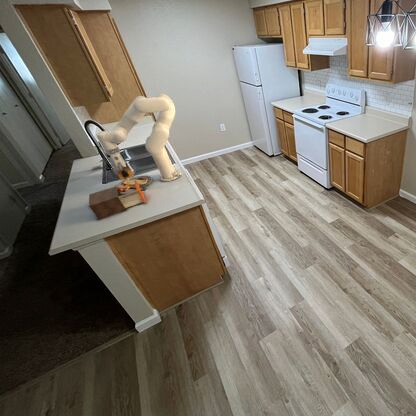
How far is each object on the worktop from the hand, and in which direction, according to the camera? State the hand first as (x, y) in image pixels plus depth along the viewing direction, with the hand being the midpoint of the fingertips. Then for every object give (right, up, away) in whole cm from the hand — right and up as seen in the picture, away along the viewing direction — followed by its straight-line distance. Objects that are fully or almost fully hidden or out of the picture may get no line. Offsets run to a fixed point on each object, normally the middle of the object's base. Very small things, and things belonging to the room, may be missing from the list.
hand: (126, 175), depth 182 cm
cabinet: (+3, -23, -16) cm, 29 cm away
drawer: (+14, -18, -11) cm, 25 cm away
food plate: (+1, -8, +6) cm, 10 cm away
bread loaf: (0, -1, +1) cm, 1 cm away
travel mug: (-18, +2, +22) cm, 29 cm away
